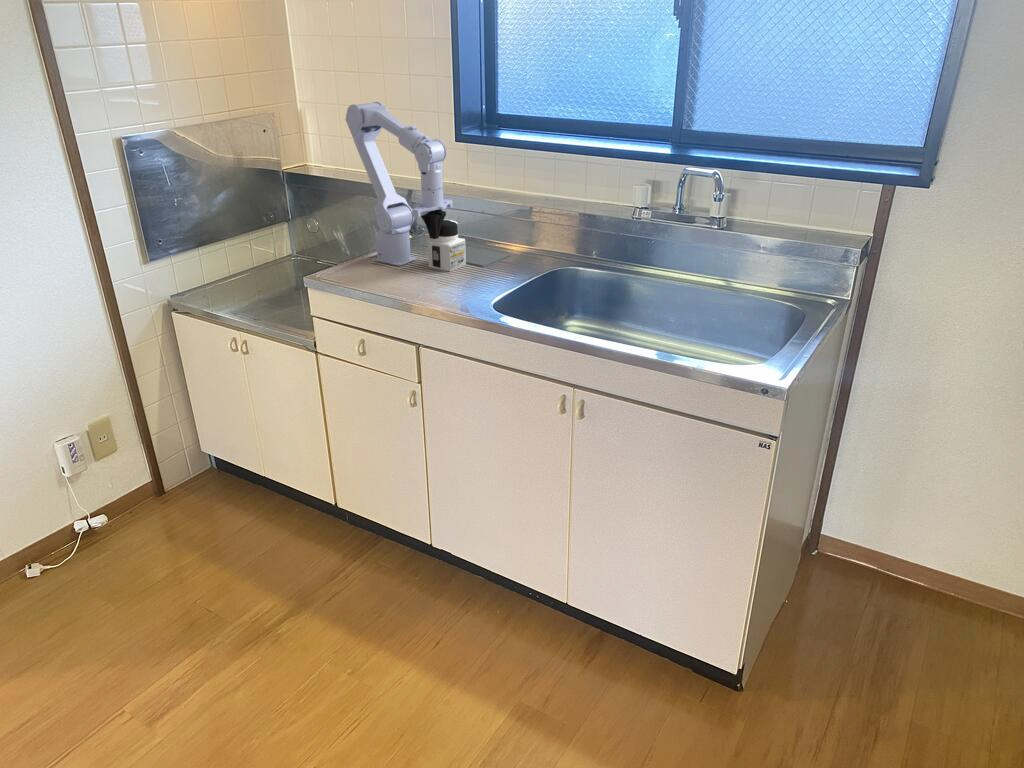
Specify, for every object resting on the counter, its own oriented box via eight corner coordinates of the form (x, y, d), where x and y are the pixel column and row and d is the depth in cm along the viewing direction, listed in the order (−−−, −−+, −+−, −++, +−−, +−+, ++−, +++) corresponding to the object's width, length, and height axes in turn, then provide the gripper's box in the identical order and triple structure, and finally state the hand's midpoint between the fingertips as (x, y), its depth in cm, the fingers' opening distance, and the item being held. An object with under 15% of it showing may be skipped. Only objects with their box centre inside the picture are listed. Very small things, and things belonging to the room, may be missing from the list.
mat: (434, 256, 229) (434, 255, 228) (461, 246, 238) (461, 245, 238) (484, 267, 219) (483, 265, 219) (509, 256, 229) (509, 254, 229)
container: (450, 272, 215) (448, 226, 210) (428, 267, 219) (426, 222, 213) (466, 265, 221) (465, 220, 215) (445, 260, 225) (443, 216, 219)
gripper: (425, 194, 199) (428, 246, 205) (460, 185, 209) (462, 234, 215) (405, 191, 202) (408, 242, 208) (440, 182, 213) (442, 230, 219)
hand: (434, 238), depth 212 cm, fingers closed
